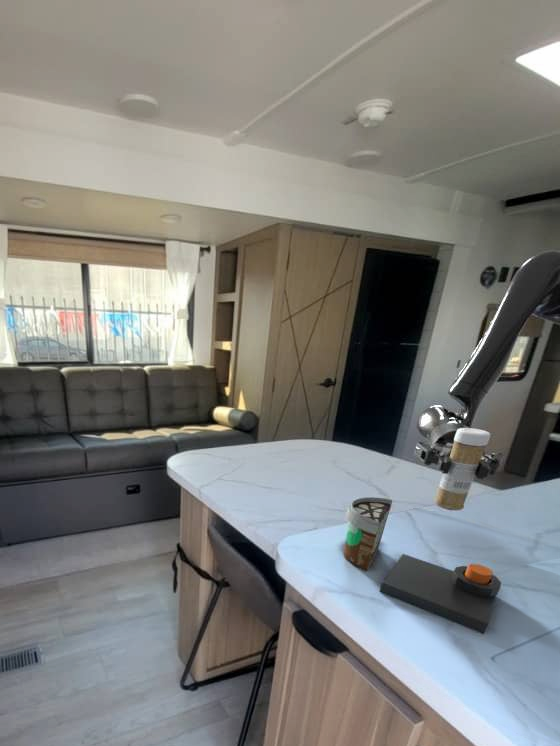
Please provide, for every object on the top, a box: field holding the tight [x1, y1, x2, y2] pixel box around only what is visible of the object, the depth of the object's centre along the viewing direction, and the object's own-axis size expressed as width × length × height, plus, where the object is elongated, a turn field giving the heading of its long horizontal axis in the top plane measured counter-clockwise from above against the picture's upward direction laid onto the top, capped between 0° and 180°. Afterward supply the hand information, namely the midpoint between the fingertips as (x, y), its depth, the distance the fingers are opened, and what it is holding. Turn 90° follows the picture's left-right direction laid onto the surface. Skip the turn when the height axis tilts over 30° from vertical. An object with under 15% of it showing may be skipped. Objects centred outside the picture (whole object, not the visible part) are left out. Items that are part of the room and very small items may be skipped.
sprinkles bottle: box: [433, 427, 491, 511], centre depth 68 cm, size 5×5×14 cm
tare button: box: [465, 563, 494, 584], centre depth 63 cm, size 3×3×2 cm
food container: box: [343, 496, 393, 572], centre depth 73 cm, size 12×6×10 cm, turn 145°
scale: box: [378, 553, 502, 635], centre depth 64 cm, size 14×12×4 cm
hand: (464, 470), depth 65 cm, fingers closed on sprinkles bottle, 4 cm apart
